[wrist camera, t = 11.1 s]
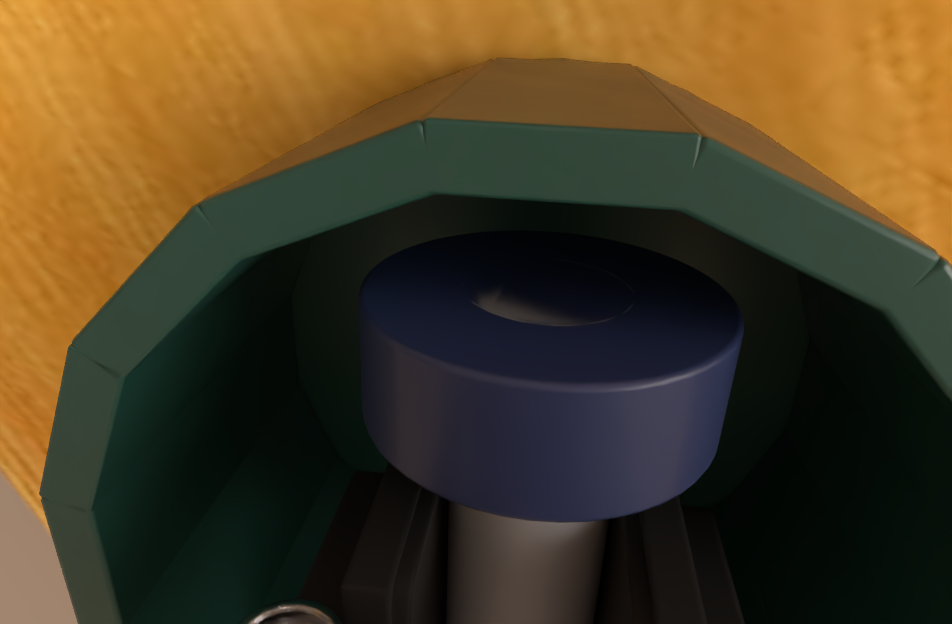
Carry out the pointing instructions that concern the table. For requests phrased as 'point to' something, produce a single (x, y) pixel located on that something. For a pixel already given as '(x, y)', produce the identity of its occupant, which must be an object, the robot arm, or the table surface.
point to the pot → (505, 209)
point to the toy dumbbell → (542, 402)
